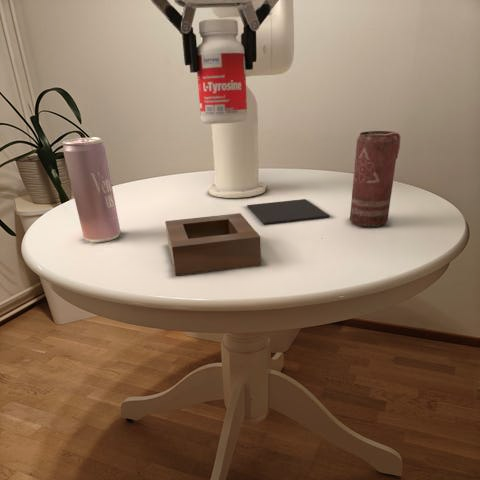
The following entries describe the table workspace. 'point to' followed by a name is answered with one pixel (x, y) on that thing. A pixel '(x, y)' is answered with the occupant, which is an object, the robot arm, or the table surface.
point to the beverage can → (92, 188)
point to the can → (373, 177)
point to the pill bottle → (221, 73)
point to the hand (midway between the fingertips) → (221, 69)
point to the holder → (212, 244)
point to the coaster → (286, 211)
